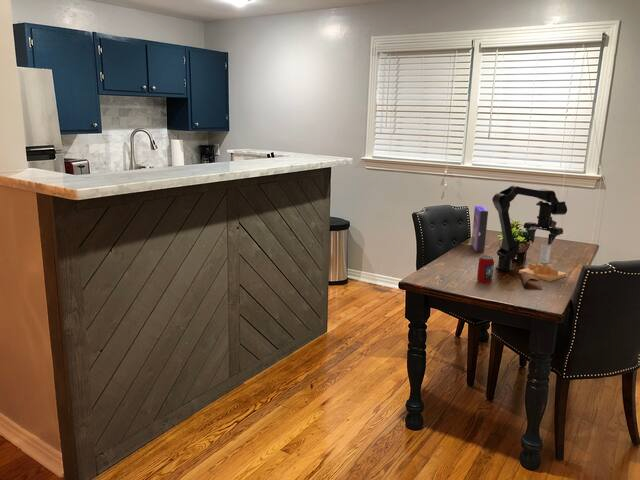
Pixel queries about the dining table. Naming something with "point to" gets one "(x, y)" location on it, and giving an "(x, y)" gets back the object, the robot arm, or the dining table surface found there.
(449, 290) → the dining table surface
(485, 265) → the beverage can
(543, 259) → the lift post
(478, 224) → the cereal box
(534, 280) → the sunglasses case
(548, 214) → the robot arm
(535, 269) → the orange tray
